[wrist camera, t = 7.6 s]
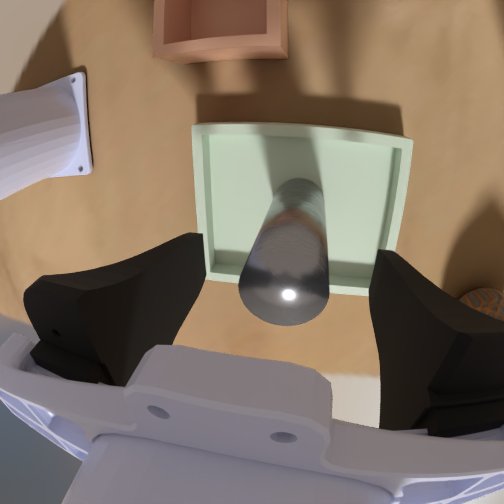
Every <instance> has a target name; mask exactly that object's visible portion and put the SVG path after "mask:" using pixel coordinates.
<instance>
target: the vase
mask: <svg viewBox="0 0 504 504" xmlns="http://www.w3.org/2000/svg"><path fill="white" fill-rule="evenodd" d="M458 301H460V302H462V303H464V304H466V305H468V306H469V307H471V308H473V309H475V310H477V311H479V312H482V313H484V314H486V315H489V316H491V317H493V318H496V319H499V320H502V321H504V293H503V292H501V291H499V290H497V289H494V288H478V289H475V290H472V291H470V292H468V293H466V294H465V295H463V296H462V297H461V298H460V299H459V300H458Z"/></svg>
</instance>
